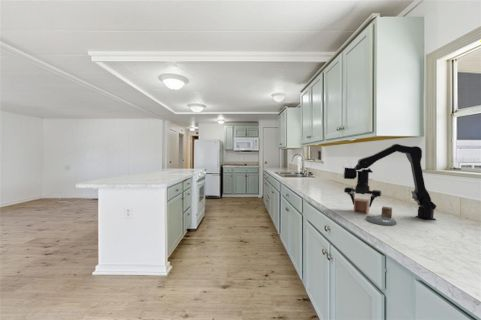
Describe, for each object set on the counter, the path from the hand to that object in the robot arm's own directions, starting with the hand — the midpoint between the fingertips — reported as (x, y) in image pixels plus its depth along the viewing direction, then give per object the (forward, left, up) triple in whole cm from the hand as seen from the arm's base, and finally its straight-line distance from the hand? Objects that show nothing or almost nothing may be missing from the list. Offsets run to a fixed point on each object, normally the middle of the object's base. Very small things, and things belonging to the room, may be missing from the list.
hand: (361, 206), depth 134 cm
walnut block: (-8, +10, -4) cm, 13 cm away
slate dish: (+2, +18, -4) cm, 18 cm away
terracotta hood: (0, 0, -4) cm, 4 cm away
